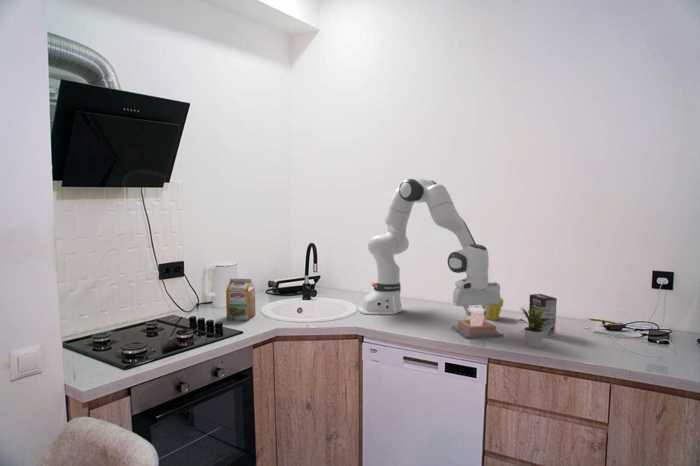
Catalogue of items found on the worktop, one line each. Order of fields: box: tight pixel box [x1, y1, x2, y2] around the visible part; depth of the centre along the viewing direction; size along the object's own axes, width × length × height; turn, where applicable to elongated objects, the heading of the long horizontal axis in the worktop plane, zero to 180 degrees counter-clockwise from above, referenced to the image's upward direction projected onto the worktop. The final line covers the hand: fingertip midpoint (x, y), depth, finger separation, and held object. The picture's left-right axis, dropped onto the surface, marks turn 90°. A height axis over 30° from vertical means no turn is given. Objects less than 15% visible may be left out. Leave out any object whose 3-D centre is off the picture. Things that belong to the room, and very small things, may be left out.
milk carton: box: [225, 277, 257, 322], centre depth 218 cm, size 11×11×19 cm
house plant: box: [517, 304, 552, 348], centre depth 177 cm, size 14×14×16 cm
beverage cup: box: [468, 305, 484, 326], centre depth 194 cm, size 6×6×14 cm
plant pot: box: [481, 296, 504, 321], centre depth 217 cm, size 10×10×10 cm
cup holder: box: [450, 318, 504, 340], centre depth 195 cm, size 16×16×4 cm
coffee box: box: [528, 293, 558, 338], centre depth 192 cm, size 9×6×16 cm
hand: (476, 315), depth 194 cm, fingers closed on beverage cup, 6 cm apart
